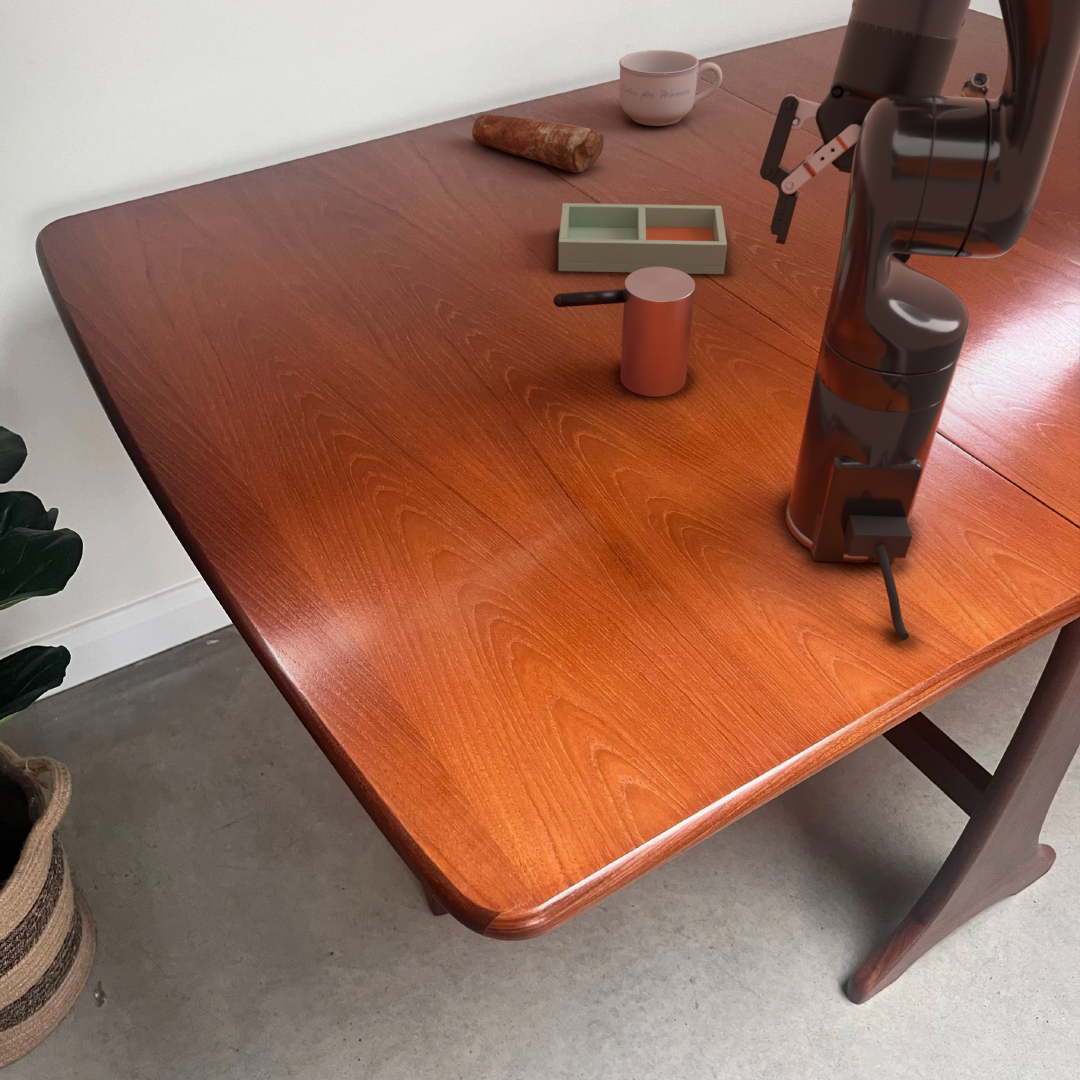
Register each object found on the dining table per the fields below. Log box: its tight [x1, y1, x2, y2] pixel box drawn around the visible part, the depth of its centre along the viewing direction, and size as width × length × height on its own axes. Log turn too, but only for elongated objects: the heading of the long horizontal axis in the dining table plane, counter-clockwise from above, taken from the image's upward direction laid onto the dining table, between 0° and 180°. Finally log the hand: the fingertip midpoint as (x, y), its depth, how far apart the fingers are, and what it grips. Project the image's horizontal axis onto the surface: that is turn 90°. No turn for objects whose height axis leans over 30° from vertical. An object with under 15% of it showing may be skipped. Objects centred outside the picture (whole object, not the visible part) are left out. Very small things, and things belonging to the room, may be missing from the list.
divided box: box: [557, 202, 728, 275], centre depth 116 cm, size 9×18×4 cm, turn 86°
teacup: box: [618, 49, 723, 127], centre depth 143 cm, size 14×11×8 cm
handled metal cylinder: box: [553, 267, 696, 398], centre depth 95 cm, size 13×6×10 cm, turn 96°
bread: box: [471, 113, 605, 174], centre depth 135 cm, size 6×19×6 cm, turn 52°
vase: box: [954, 72, 990, 99], centre depth 143 cm, size 5×5×6 cm
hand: (835, 254), depth 80 cm, fingers open, 8 cm apart
